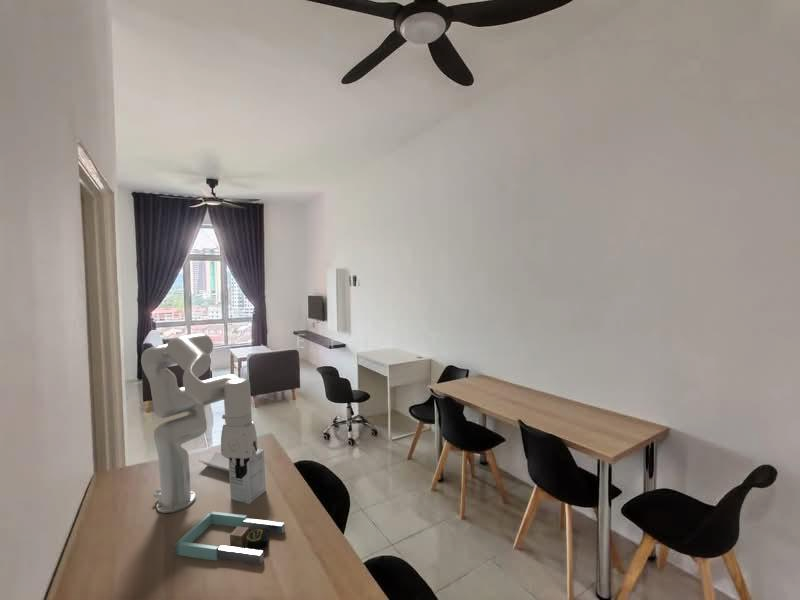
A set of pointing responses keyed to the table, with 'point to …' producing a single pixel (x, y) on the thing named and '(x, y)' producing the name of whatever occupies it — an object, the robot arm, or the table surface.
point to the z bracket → (218, 462)
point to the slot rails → (250, 554)
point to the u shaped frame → (201, 550)
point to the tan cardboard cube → (238, 537)
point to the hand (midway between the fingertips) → (241, 476)
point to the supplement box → (248, 480)
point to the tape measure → (257, 539)
